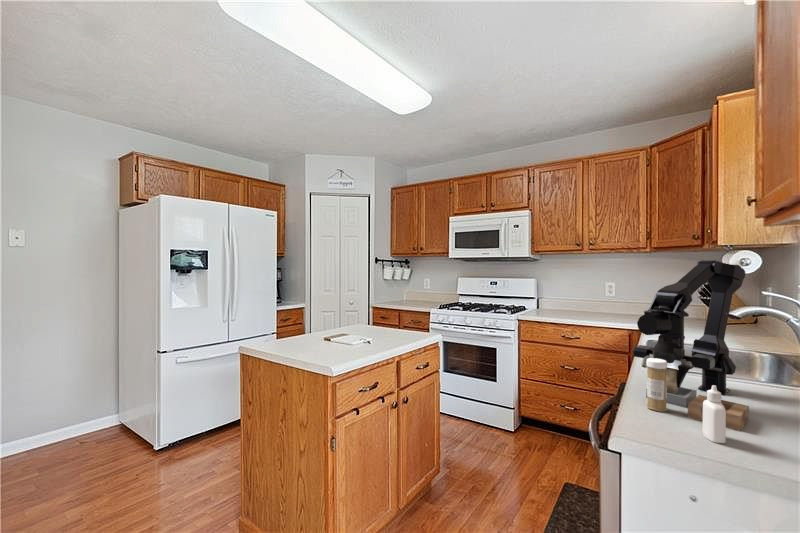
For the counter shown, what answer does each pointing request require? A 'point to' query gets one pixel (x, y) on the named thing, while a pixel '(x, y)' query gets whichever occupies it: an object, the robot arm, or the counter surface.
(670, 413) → the counter surface
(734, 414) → the brown square frame
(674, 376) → the beige wooden peg
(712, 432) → the eye dropper bottle
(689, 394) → the gray square tray
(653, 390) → the sprinkles bottle
